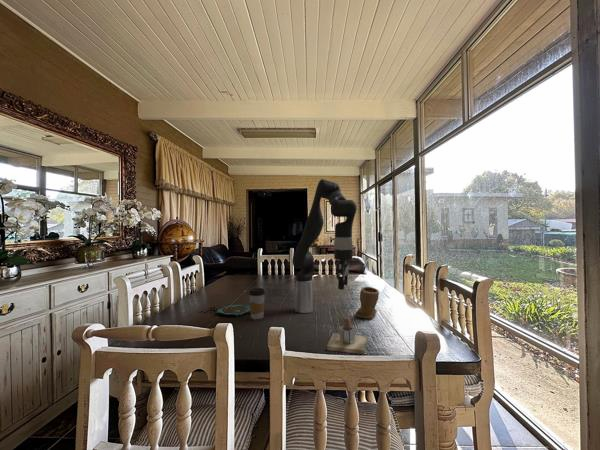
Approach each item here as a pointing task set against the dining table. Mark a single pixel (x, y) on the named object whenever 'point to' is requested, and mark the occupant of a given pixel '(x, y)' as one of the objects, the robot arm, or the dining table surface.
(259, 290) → the coffee cup
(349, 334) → the ring
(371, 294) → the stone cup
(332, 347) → the post stand
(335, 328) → the dining table surface
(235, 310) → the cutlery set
